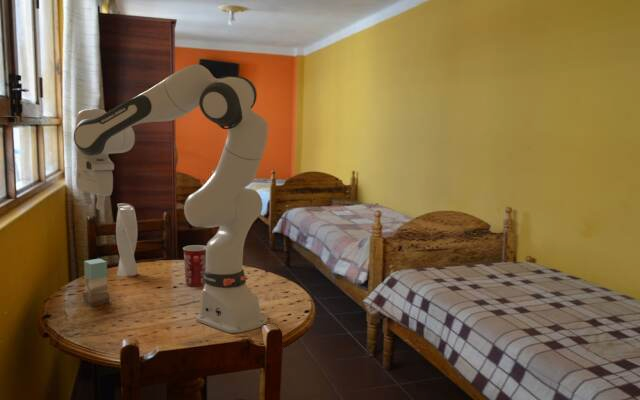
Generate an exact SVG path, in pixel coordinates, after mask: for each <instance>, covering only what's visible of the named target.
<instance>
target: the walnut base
mask: <svg viewBox="0 0 640 400" xmlns="http://www.w3.org/2000/svg"><path fill="white" fill-rule="evenodd" d="M82 300H83V301H85V302H86V303H87V304H89V305H94V306H96V305H95V304H98V305H101V304H100V303H103V304H105V303H104V302H108V303H110V302H109V300H110V292H109V291H108V290H107V292H106V293H101V294H96V295H90V294H88V293H87V292H86V291H85V290H83V291H82Z"/></svg>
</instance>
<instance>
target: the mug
mask: <svg viewBox="0 0 640 400" xmlns="http://www.w3.org/2000/svg"><path fill="white" fill-rule="evenodd" d="M182 251H183V261H184V262H183V263H184V278H185V285H186V286H188V287H200V286H204V285H205V282H204V270H205V269H206V245H200V244H197V245H196V244H194V245H193V244H192V245H186V246H184V247H182Z"/></svg>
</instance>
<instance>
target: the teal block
mask: <svg viewBox="0 0 640 400" xmlns="http://www.w3.org/2000/svg"><path fill="white" fill-rule="evenodd" d="M83 262H84V265H83V266H84V267H83V268H84V278H85V277H87V278H88V279H90V280H94V279H99V278H104V277H107V278H108V261H106V260H104V259H102V258H95V259H88V260H84V261H83Z"/></svg>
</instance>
